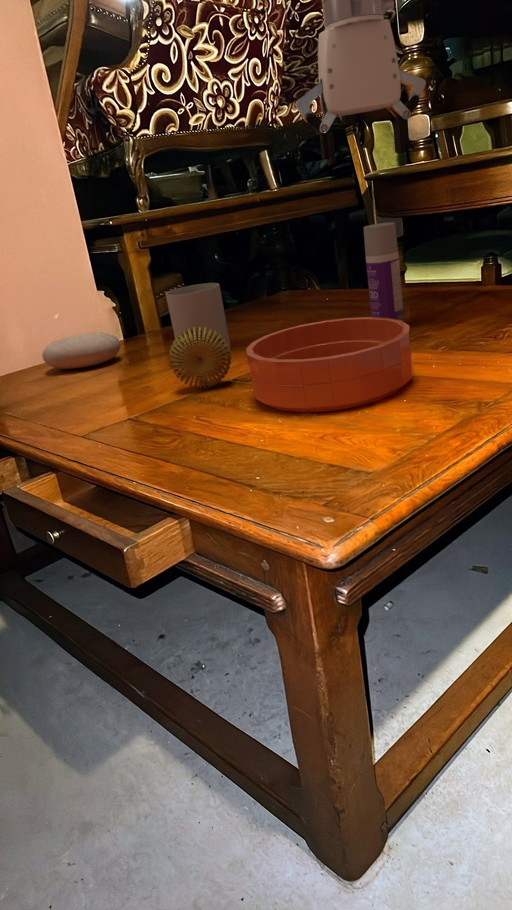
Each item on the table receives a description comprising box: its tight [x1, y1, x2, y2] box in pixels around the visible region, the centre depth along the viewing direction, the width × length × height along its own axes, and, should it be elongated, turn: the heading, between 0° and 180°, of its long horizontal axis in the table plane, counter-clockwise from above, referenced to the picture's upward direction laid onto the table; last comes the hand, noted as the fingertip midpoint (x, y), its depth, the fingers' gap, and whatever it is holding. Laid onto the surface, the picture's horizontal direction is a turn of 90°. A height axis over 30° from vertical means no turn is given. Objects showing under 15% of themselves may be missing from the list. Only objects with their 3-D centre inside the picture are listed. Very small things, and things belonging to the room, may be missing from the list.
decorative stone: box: [41, 332, 121, 370], centre depth 114 cm, size 13×9×5 cm
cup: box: [165, 282, 232, 356], centre depth 107 cm, size 8×8×10 cm
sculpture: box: [168, 326, 233, 389], centre depth 89 cm, size 8×4×8 cm, turn 91°
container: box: [363, 221, 405, 323], centre depth 101 cm, size 5×5×15 cm
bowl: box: [245, 316, 414, 413], centre depth 80 cm, size 19×19×6 cm
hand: (366, 158), depth 95 cm, fingers open, 9 cm apart
